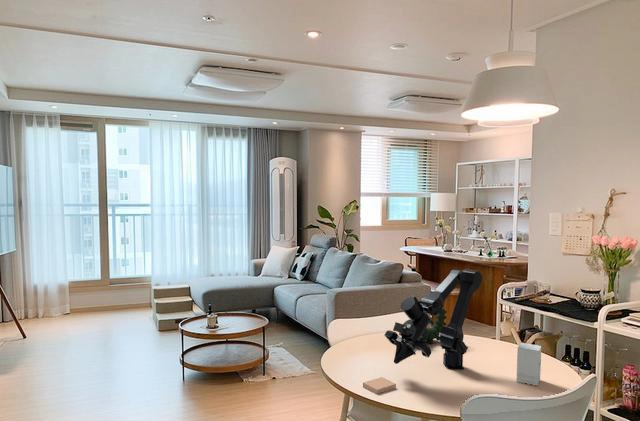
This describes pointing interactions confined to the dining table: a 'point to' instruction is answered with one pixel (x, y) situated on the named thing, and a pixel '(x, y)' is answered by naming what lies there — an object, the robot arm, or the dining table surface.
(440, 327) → the toy figurine
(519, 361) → the supplement box
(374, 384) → the tile
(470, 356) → the dining table surface
